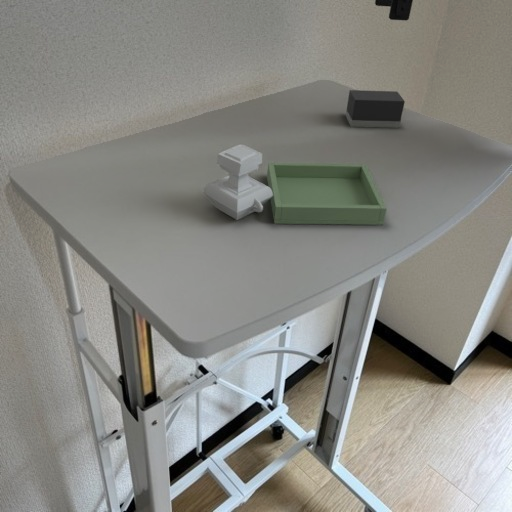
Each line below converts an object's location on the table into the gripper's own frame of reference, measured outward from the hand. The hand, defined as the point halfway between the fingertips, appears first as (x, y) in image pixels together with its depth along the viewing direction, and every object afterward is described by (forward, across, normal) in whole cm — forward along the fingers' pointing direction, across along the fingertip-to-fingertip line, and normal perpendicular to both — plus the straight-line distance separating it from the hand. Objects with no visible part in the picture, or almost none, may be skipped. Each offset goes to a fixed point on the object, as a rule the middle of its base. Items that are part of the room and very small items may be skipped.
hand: (390, 12), depth 92 cm
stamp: (+19, -34, +26) cm, 47 cm away
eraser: (+19, -2, 0) cm, 19 cm away
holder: (+19, -31, +14) cm, 39 cm away
